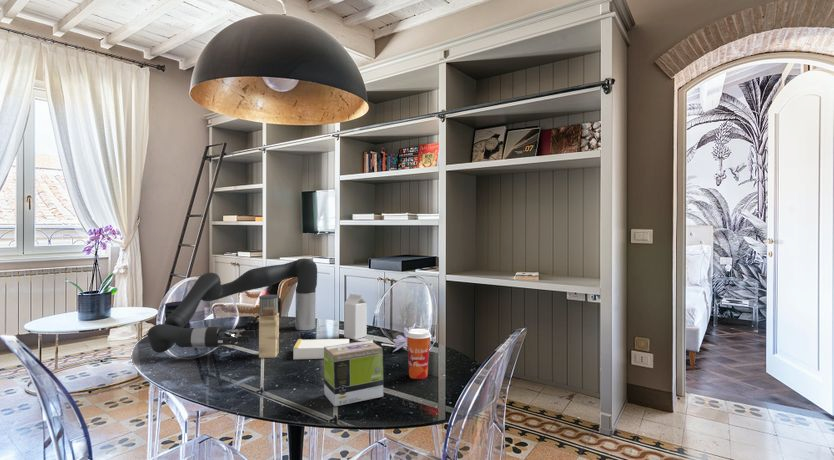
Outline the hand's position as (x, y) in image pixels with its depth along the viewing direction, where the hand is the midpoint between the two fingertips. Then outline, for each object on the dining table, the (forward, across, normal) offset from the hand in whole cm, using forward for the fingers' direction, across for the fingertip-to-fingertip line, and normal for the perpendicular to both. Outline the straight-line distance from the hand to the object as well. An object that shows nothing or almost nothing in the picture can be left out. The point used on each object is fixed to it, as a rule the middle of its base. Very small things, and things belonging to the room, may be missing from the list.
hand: (251, 336), depth 167 cm
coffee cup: (+60, -28, +8) cm, 67 cm away
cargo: (+6, 0, -6) cm, 9 cm away
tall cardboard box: (+6, 0, +8) cm, 10 cm away
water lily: (+58, +4, +8) cm, 59 cm away
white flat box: (+26, 0, +8) cm, 27 cm away
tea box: (+39, -43, +8) cm, 59 cm away
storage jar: (-39, +30, +8) cm, 50 cm away
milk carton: (+38, +24, +8) cm, 46 cm away
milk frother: (-7, +50, +8) cm, 51 cm away
